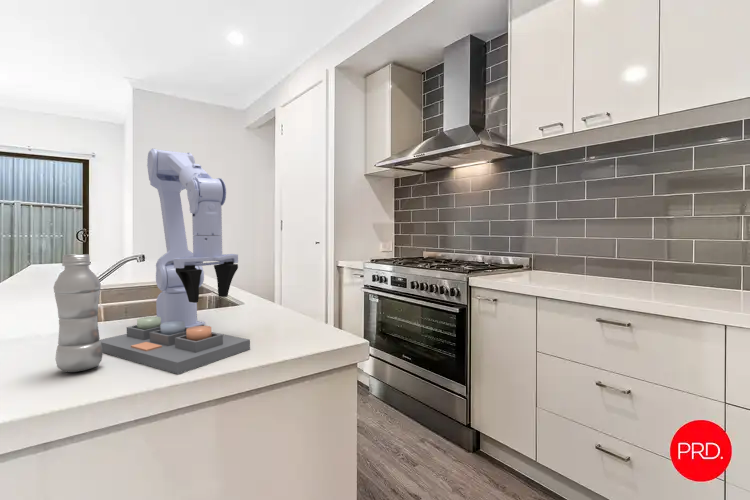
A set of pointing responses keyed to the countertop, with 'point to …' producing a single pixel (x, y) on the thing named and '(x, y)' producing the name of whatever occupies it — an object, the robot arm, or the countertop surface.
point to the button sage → (148, 323)
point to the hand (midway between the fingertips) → (208, 299)
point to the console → (172, 348)
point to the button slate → (172, 327)
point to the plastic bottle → (77, 315)
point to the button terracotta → (198, 333)
